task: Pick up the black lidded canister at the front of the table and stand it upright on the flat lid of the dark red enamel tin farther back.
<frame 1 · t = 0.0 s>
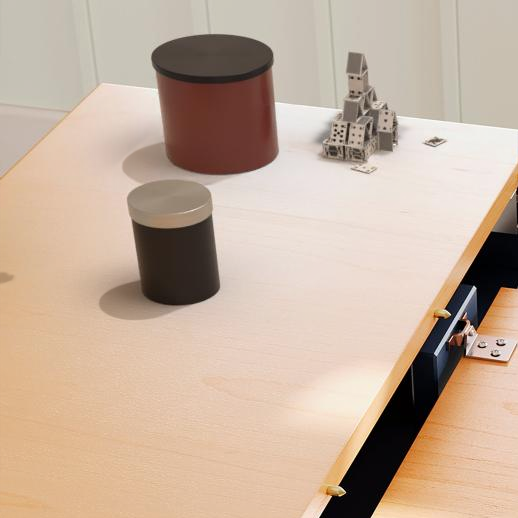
tin: (223, 151, 127), on the table
house of cards: (383, 153, 129), on the table
black lidded canister: (183, 305, 107), on the table
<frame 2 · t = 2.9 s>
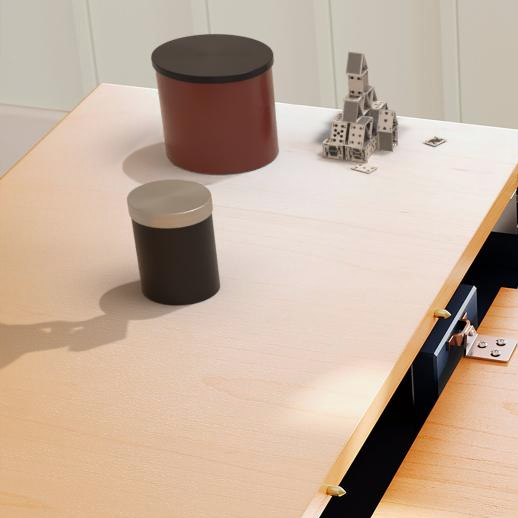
nothing on the table moved.
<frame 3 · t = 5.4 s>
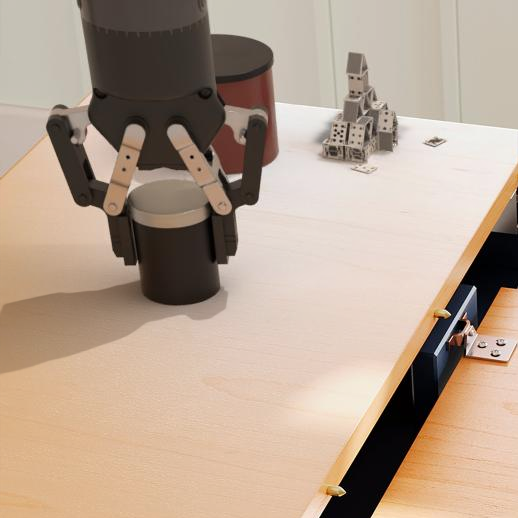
hand: (177, 259, 105), 3 cm above the table, tool pointing down, fingers closed on black lidded canister, 5 cm apart
black lidded canister: (183, 305, 107), on the table, touching gripper
everything else where it was.
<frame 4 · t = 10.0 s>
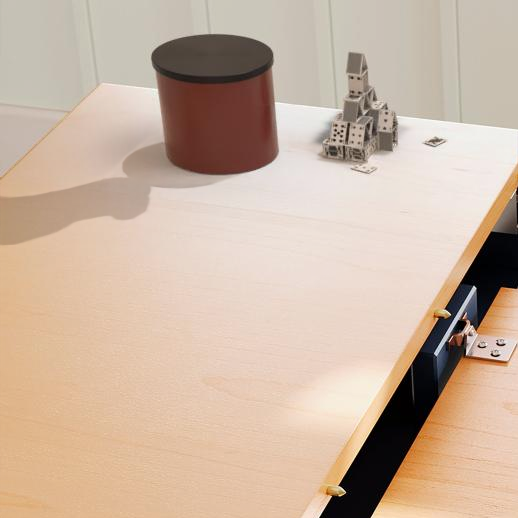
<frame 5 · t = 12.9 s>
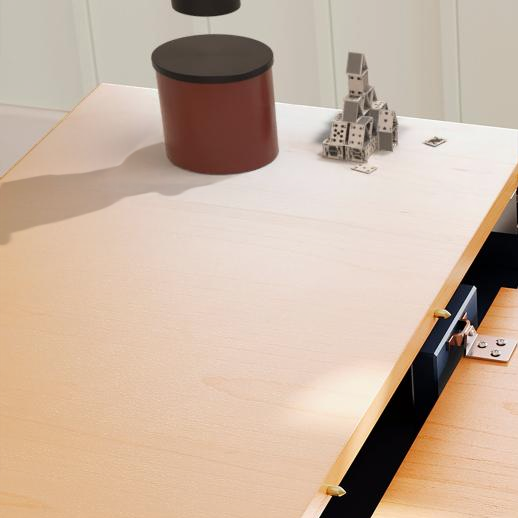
black lidded canister: (206, 5, 119), point 12 cm above the table, touching gripper
everything else where it was.
when the fingers open (11 cm above the table, at t = 14.9 s): black lidded canister stays where it is, resting on tin.
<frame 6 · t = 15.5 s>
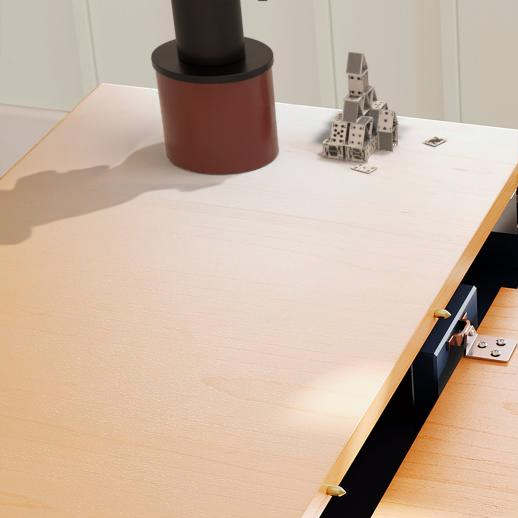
black lidded canister: (211, 54, 122), point 8 cm above the table, touching tin
everything else where it was.
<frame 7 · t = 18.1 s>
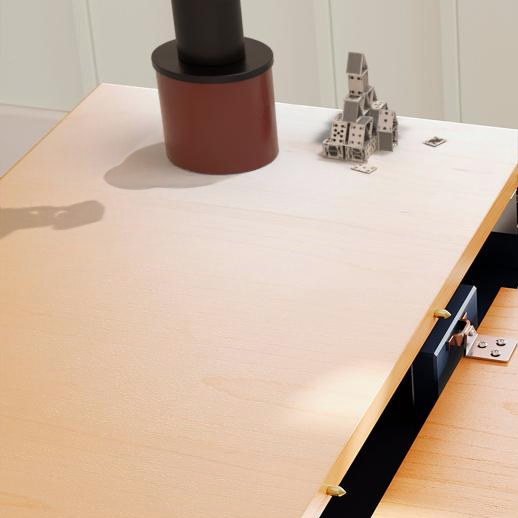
nothing on the table moved.
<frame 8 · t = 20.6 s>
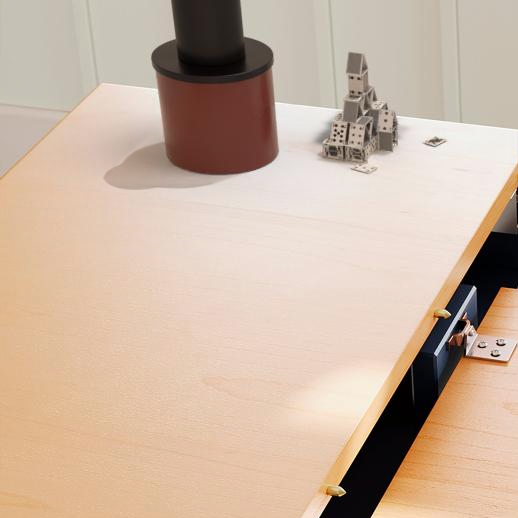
nothing on the table moved.
at the end: black lidded canister 0.1 cm off-centre on the tin, point 8.0 cm above the tin's base; black lidded canister tilted 0°; the gripper is holding nothing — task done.
